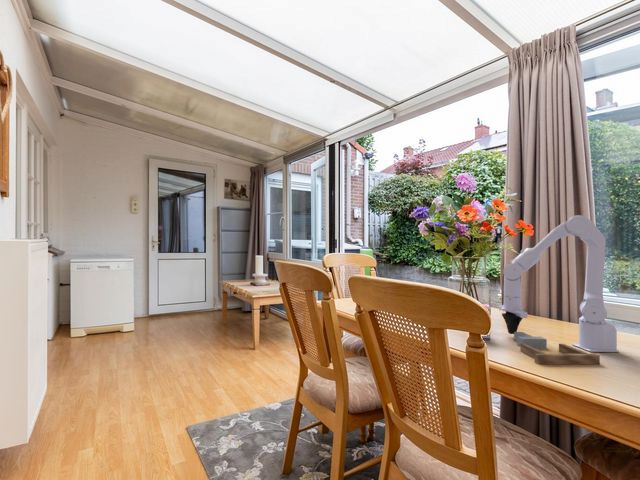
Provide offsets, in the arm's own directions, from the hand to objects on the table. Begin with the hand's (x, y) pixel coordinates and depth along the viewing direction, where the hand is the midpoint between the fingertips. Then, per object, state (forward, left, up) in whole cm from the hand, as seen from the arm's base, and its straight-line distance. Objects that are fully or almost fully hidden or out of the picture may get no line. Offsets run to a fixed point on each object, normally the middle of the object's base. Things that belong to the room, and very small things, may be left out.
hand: (512, 333), depth 125 cm
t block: (0, +8, -2) cm, 8 cm away
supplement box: (+12, 0, -2) cm, 12 cm away
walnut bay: (0, +21, -1) cm, 21 cm away
